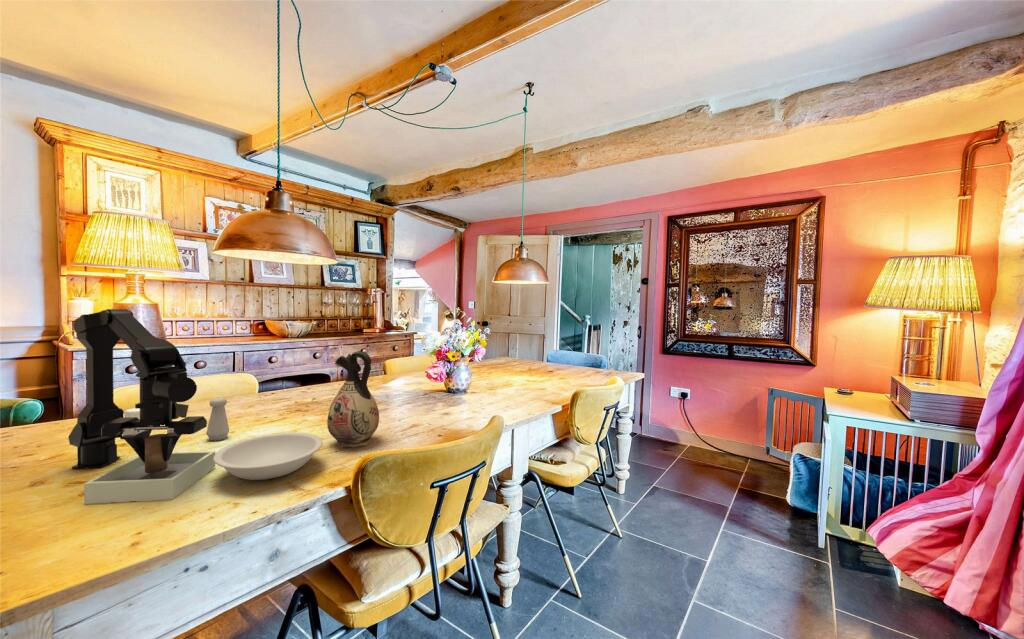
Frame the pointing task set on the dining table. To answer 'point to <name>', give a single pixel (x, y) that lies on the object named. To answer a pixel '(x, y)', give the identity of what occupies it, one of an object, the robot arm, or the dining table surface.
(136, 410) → the white cube
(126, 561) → the dining table surface
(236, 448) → the soup bowl
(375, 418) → the ceramic jug
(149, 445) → the peg
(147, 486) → the tray
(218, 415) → the salt shaker
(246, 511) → the dining table surface
